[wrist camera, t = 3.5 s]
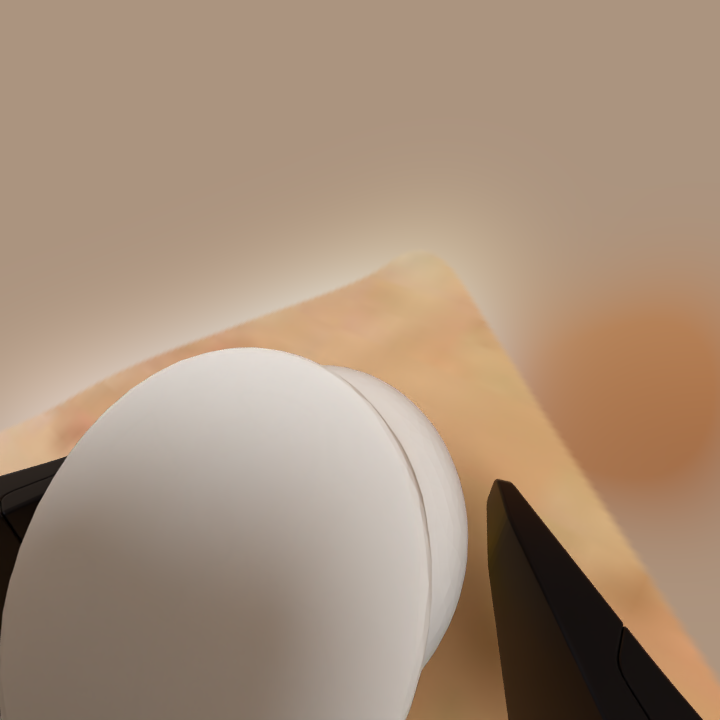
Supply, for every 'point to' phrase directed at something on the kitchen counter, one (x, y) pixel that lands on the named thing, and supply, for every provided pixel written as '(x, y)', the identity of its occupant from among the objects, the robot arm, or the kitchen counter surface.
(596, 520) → the kitchen counter surface
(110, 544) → the supplement bottle
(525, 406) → the kitchen counter surface
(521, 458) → the kitchen counter surface
